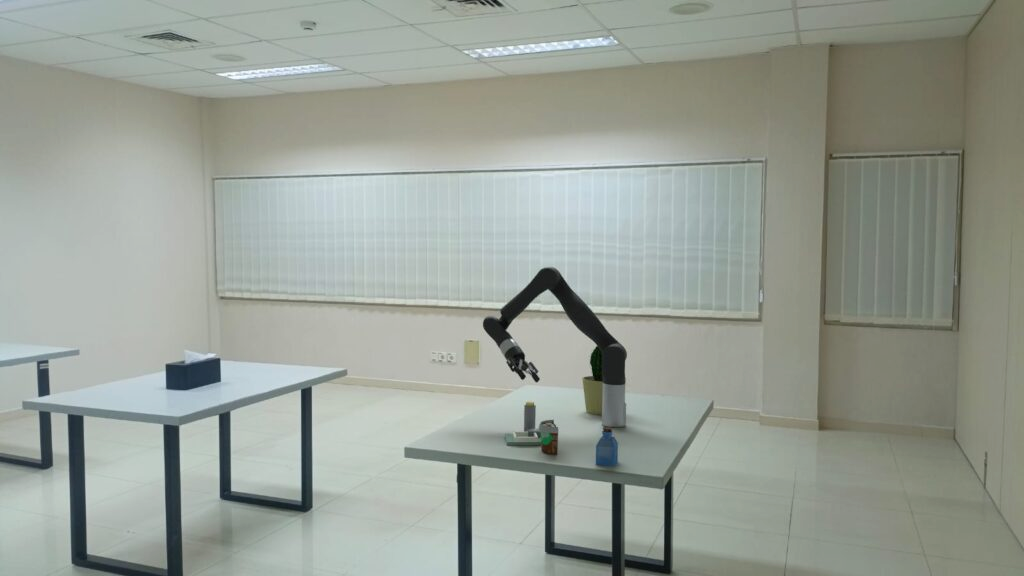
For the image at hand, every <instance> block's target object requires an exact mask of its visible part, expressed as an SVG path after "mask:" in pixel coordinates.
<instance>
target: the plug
mask: <svg viewBox="0 0 1024 576" xmlns="http://www.w3.org/2000/svg"><path fill="white" fill-rule="evenodd" d="M523 409H524V410H523V432H527V429H536V418H537V417H536V414H537V413H536V411H537V410H536V409H537V407H536V405H535V402H534V401H526V402H525V404H524V406H523Z"/></svg>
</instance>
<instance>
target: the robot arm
mask: <svg viewBox="0 0 1024 576" xmlns="http://www.w3.org/2000/svg"><path fill="white" fill-rule="evenodd" d="M546 291H549V292H550V293H551V294H552V295H553V296H554V297H555V298H556V299H557V301H558V302H559V303H560V305H561V308H562V309H563V311H564V312H565V315H566V316H567V317H568V319H569V320H570V321H571V323H572V324H574V325H573V326H575V327H576V328H577V329H578V331H580V332H581V333H582V334H584V335H585V336H586V338H589V339H590V340H591V341H592V342H594V343H595V345H596V346H598V347H599V349H600V350H601V351H602V353H603V356H602V377H603V399H602V414H601V425H602V426H603V427H612V428H621V427H626V426H627V403H626V379H627V378H626V360H627V357H628V351H627V350H626V348H625V347H624V345H623V344H621V343H620V342H619V341H618V340H617V339H616V338H615V337H614V336H613V335H612V334H611V333H610V332H609V331H608V329H606V327H605V326H604V324H603V323H602V321H601V320H600V319H599V318H598V317H597V315H596V314H595V313H594V312H593V310H592V309H591V308H590V307H589V306H588V305H587V304H586V302H585V301H584V300H583V299H582V298H581V297H580V296H579V295H578V294H577V292H575V291H574V290H573V289H572V288H571V286H570V285H569V284H568V282H567V281H566V280H565V278H564V277H563V275H562V274H561V272H560V271H559V270H558V269H557V268H556V267H553V266H544V267H543V268H541V269H539V271H538V272H537V273H536V274H535V276H534V277H533V278H532V280H530V282H529V283H528V284H527V285H526V286H525V287H524V288H523V289H522V290H521V291H520V292H518V293H517V294H516V295H515V296H514V297H513V298H512V299H510V300H509V301H508V302H507V303H506V304H505V305H503V306H502V307H501V308H500V315H501V316H500V317H499V318H497V317H496V316H493V315H488V316H486V317H485V318H484V319H483V321H482V328H483V330H484V331H485V332H486V333H487V335H488V336H489V337H490V338H491V340H493V341H494V342H495V344H496V345H497V347H498V348H499V350H500V352H501V354H502V356H503V357H504V358H505V360H506V364H507V366H508V367H509V369H510V371H511V372H512V373H515V374H517V375H518V377H519V378H520V379H521V381H524V380H525V379H526V378H527V376H526V374H528V375H529V376H531V378H532V380H533V381H534V382H535V383H538V382H540V380H541V379H540V376H538V373H539V370H538V369H537V367H536V366H535V365H534V363H533V362H532V361H529V362H528V361H527V360H526V355H525V353H524V350H522V348H521V346H520V345H519V344H518V342H517V341H515V339H514V338H513V336H512V335H511V334H510V333H509V331H507V330H508V328H509V327H510V325H512V322H513V320H515V319H517V318H518V316H520V315H521V314H522V313H523V312H524V311H525V310H526V309H527V308H528V307H529V306H530V304H531V303H532V302H533V301H534V300H535V299H537V298H538V297H539V296H541V294H543V293H545V292H546ZM594 343H593V344H594Z"/></svg>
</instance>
